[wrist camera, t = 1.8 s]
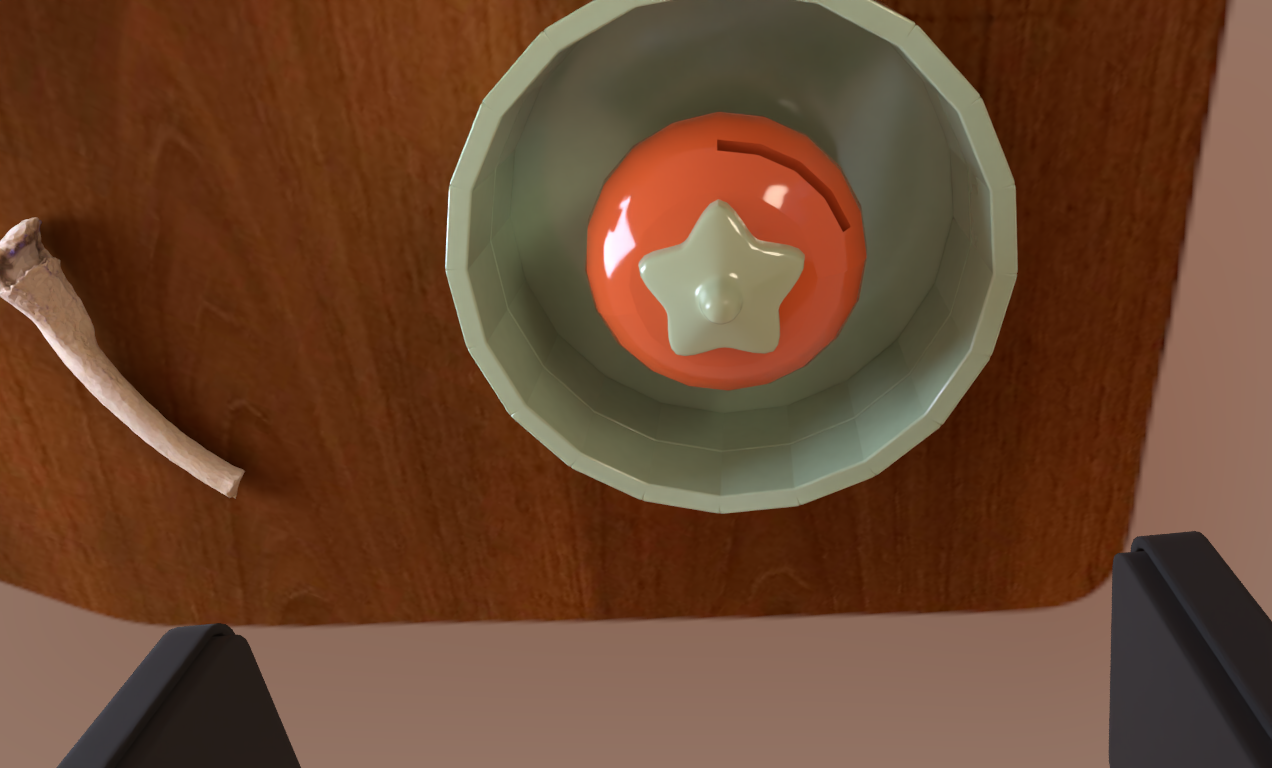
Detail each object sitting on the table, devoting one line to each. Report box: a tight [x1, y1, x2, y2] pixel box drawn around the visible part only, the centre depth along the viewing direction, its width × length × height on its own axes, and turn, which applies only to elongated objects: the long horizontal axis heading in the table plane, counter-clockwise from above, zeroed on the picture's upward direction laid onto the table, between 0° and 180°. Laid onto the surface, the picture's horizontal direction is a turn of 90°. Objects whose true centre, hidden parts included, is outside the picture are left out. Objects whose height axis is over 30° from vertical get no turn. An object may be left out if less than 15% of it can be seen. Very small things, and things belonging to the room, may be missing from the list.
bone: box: [0, 217, 245, 498], centre depth 33 cm, size 3×11×2 cm, turn 30°
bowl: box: [445, 0, 1018, 514], centre depth 27 cm, size 14×14×6 cm
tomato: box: [585, 111, 867, 391], centre depth 26 cm, size 7×7×8 cm
